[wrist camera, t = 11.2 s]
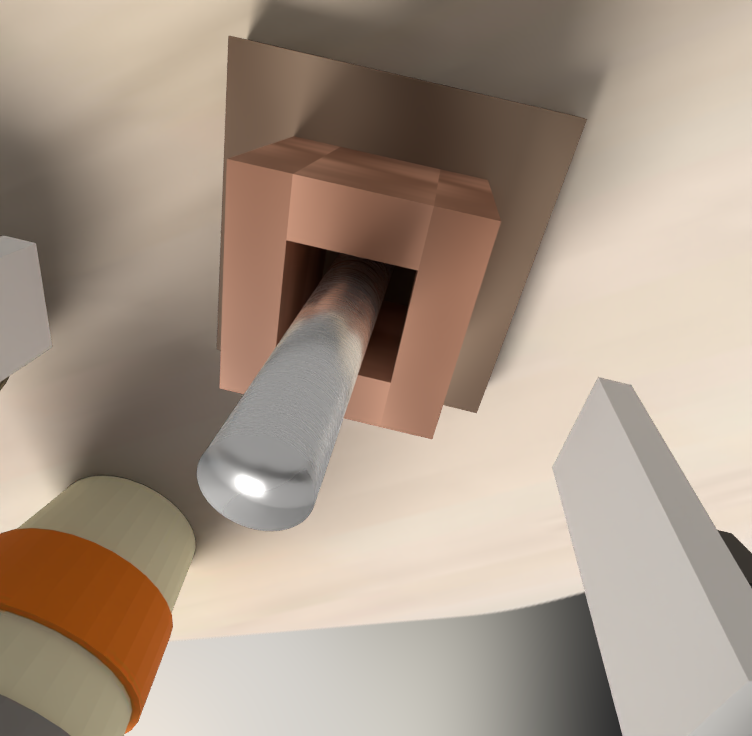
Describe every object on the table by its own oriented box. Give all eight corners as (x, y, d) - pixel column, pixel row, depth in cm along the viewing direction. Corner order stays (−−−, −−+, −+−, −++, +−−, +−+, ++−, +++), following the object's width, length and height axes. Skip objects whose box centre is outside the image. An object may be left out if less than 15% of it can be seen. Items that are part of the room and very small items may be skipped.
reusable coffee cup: (255, 583, 33) (127, 901, 20) (105, 599, 37) (-84, 880, 24) (159, 434, 28) (-98, 740, 15) (-6, 470, 31) (-330, 744, 18)
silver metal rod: (342, 271, 20) (196, 514, 9) (350, 221, 19) (197, 425, 8) (391, 282, 20) (307, 542, 9) (402, 233, 19) (323, 456, 8)
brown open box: (276, 313, 21) (219, 388, 16) (294, 136, 18) (226, 158, 13) (438, 351, 21) (432, 439, 16) (487, 180, 18) (501, 221, 12)
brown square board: (230, 333, 24) (216, 349, 23) (246, 39, 18) (228, 35, 16) (475, 393, 24) (476, 413, 22) (576, 116, 18) (587, 119, 16)
